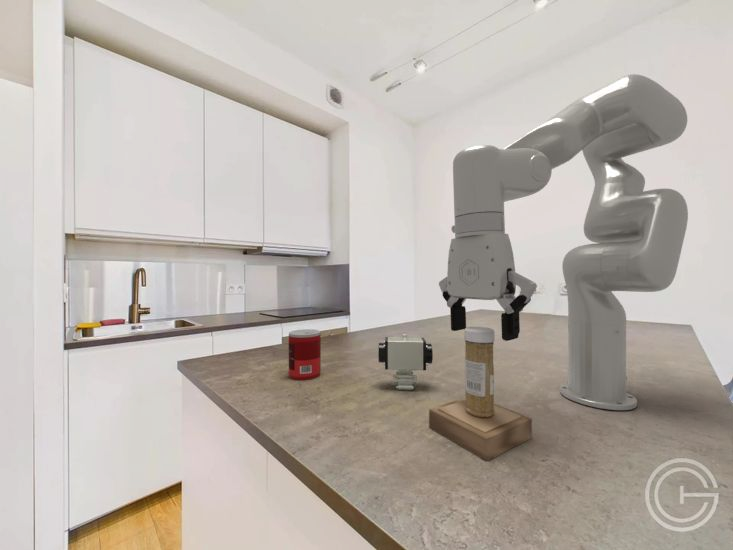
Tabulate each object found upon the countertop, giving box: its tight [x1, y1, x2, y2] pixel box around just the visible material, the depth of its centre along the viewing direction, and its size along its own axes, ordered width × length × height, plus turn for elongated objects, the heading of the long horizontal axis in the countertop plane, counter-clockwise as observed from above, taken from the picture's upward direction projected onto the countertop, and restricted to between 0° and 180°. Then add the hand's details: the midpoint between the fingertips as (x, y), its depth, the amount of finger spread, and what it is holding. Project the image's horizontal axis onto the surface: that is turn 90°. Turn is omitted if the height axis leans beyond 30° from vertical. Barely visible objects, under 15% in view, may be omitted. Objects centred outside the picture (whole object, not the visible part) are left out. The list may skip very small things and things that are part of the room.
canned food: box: [288, 328, 322, 381], centre depth 78 cm, size 8×8×11 cm
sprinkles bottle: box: [463, 326, 496, 417], centre depth 49 cm, size 5×5×14 cm
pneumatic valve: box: [377, 333, 434, 391], centre depth 70 cm, size 6×12×12 cm, turn 86°
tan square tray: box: [428, 397, 533, 462], centre depth 49 cm, size 11×11×3 cm
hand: (482, 334), depth 50 cm, fingers open, 9 cm apart
